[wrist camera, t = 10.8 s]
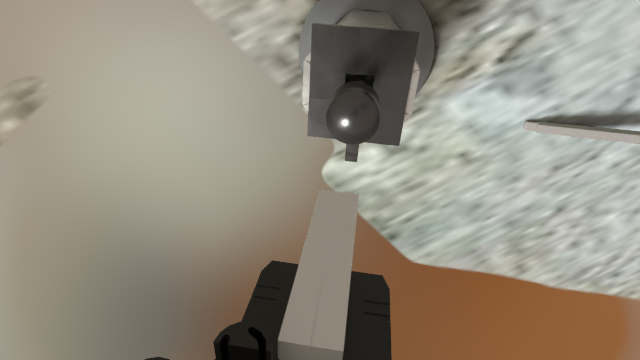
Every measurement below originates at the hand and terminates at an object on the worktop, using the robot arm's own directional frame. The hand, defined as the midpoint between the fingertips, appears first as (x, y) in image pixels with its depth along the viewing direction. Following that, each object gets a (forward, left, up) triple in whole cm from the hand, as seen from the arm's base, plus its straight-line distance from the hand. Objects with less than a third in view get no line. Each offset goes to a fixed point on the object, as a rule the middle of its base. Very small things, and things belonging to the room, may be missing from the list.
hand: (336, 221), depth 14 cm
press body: (+2, 0, -33) cm, 34 cm away
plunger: (0, 0, -29) cm, 29 cm away
